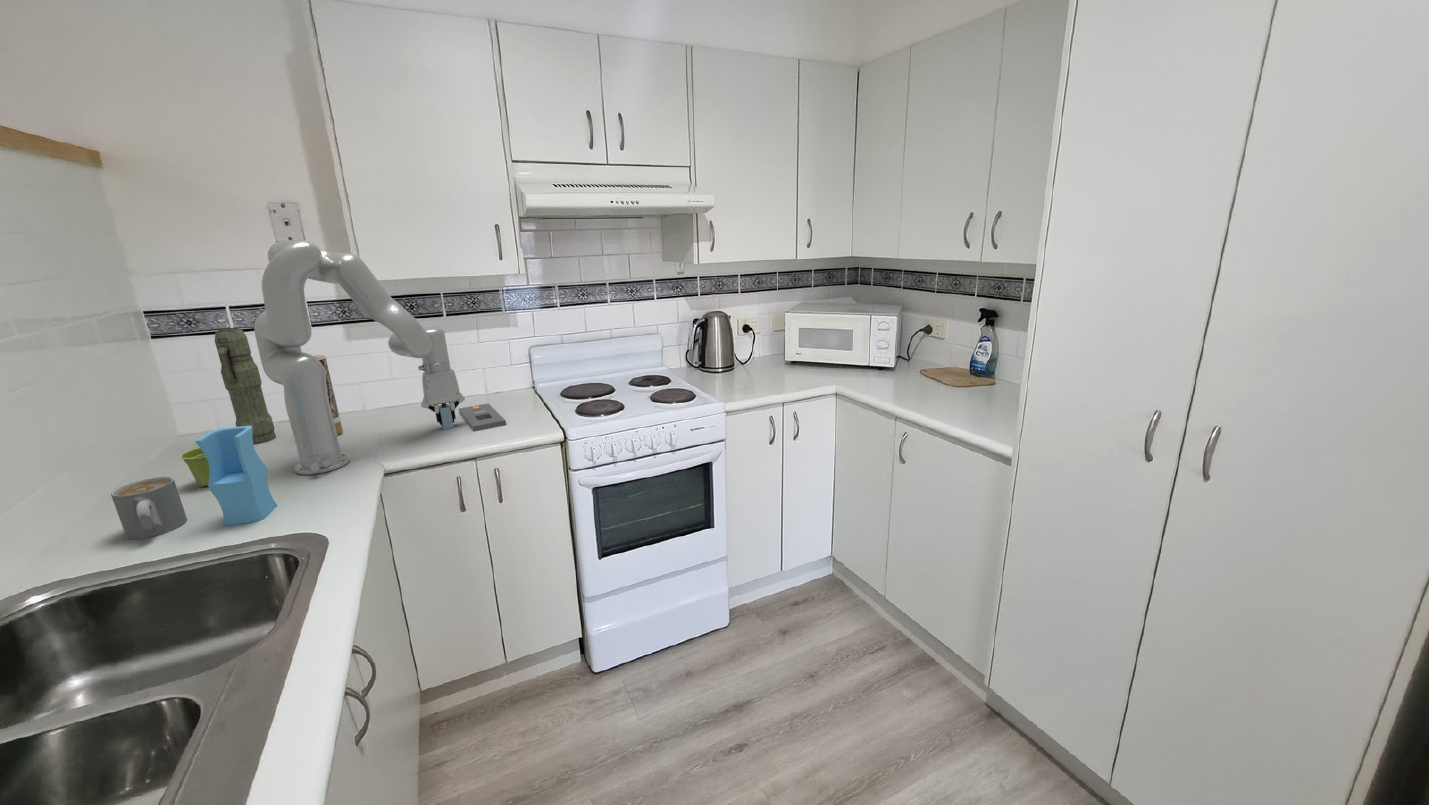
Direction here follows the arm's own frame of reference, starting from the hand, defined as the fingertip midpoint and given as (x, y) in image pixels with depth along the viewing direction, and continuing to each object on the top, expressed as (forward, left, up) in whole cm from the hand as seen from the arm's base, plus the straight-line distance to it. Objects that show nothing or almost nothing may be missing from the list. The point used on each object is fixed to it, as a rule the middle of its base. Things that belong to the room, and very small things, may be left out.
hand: (446, 422), depth 188 cm
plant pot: (-9, +58, -2) cm, 59 cm away
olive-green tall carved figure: (+25, +51, -2) cm, 57 cm away
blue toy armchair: (-39, +48, -2) cm, 62 cm away
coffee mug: (-35, +65, -2) cm, 74 cm away
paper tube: (+16, +32, -2) cm, 36 cm away
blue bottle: (0, 0, -2) cm, 2 cm away
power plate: (+2, -11, -2) cm, 11 cm away
